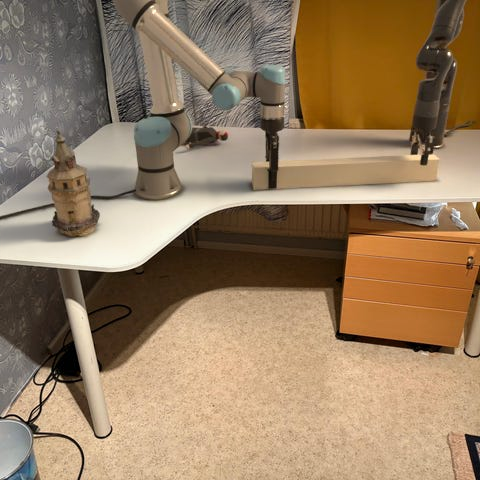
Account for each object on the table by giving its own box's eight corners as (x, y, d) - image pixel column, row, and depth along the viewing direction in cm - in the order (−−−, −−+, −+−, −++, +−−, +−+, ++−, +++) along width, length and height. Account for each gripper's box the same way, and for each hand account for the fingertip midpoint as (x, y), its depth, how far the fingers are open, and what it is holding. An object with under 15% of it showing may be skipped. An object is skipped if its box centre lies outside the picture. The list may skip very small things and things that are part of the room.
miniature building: (80, 214, 164) (63, 117, 149) (111, 225, 157) (96, 125, 142) (44, 231, 154) (22, 130, 140) (75, 244, 147) (55, 139, 133)
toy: (166, 118, 231) (234, 118, 225) (168, 133, 234) (235, 133, 228) (145, 138, 209) (219, 138, 203) (147, 153, 212) (221, 154, 206)
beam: (253, 190, 178) (253, 167, 174) (252, 184, 182) (251, 162, 178) (435, 180, 183) (439, 159, 179) (429, 175, 187) (433, 153, 183)
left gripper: (289, 124, 161) (286, 195, 173) (279, 108, 177) (278, 173, 188) (264, 125, 161) (263, 196, 172) (257, 109, 176) (257, 175, 188)
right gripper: (446, 118, 167) (437, 167, 175) (428, 106, 179) (420, 153, 187) (423, 119, 166) (415, 168, 174) (406, 107, 179) (400, 154, 187)
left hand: (271, 184), depth 180 cm, fingers closed on beam, 5 cm apart
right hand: (418, 160), depth 181 cm, fingers open, 8 cm apart
